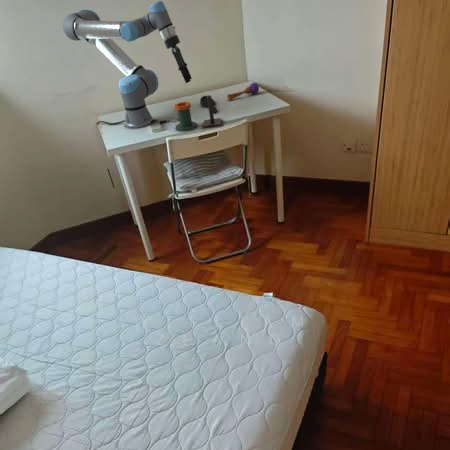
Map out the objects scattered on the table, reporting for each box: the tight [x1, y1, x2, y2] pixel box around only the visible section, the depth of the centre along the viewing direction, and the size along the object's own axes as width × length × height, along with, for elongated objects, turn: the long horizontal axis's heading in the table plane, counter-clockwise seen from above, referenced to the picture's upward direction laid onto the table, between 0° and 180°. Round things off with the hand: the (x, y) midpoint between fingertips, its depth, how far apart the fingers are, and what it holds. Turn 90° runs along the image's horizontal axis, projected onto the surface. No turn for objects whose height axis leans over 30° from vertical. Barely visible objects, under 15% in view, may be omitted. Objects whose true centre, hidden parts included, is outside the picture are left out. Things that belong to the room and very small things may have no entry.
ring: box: [174, 101, 192, 111], centre depth 213 cm, size 8×8×2 cm
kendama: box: [226, 82, 260, 102], centre depth 246 cm, size 6×6×20 cm
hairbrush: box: [199, 94, 218, 114], centre depth 239 cm, size 8×4×25 cm
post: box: [203, 94, 222, 129], centre depth 214 cm, size 9×9×14 cm
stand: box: [175, 108, 198, 132], centre depth 216 cm, size 11×11×10 cm
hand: (189, 81), depth 220 cm, fingers open, 13 cm apart
